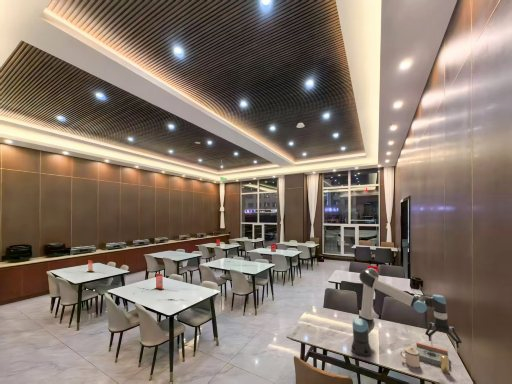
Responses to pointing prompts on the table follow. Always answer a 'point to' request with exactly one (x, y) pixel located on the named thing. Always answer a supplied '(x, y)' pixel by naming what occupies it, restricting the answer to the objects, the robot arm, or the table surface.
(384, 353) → the table surface
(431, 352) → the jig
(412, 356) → the teacup with lid
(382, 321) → the table surface
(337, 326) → the table surface
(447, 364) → the brass cylinder
